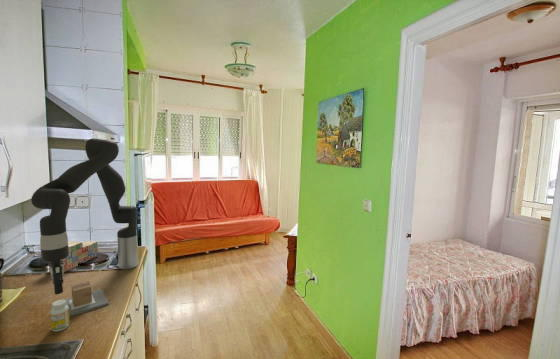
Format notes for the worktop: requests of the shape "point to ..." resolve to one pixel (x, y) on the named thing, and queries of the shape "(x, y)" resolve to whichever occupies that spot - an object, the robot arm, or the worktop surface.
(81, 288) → the tan wooden block
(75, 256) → the colorful cardboard box
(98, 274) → the worktop surface
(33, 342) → the worktop surface
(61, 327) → the supplement bottle
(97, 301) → the grey flat plate
